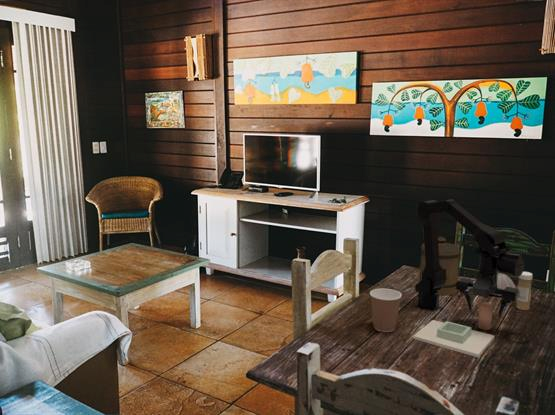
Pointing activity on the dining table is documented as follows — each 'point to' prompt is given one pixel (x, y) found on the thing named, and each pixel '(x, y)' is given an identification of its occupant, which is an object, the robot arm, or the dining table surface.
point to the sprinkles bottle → (524, 291)
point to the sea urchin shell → (504, 282)
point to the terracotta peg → (485, 316)
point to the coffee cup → (385, 308)
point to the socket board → (454, 337)
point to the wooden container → (445, 265)
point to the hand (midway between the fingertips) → (485, 313)
